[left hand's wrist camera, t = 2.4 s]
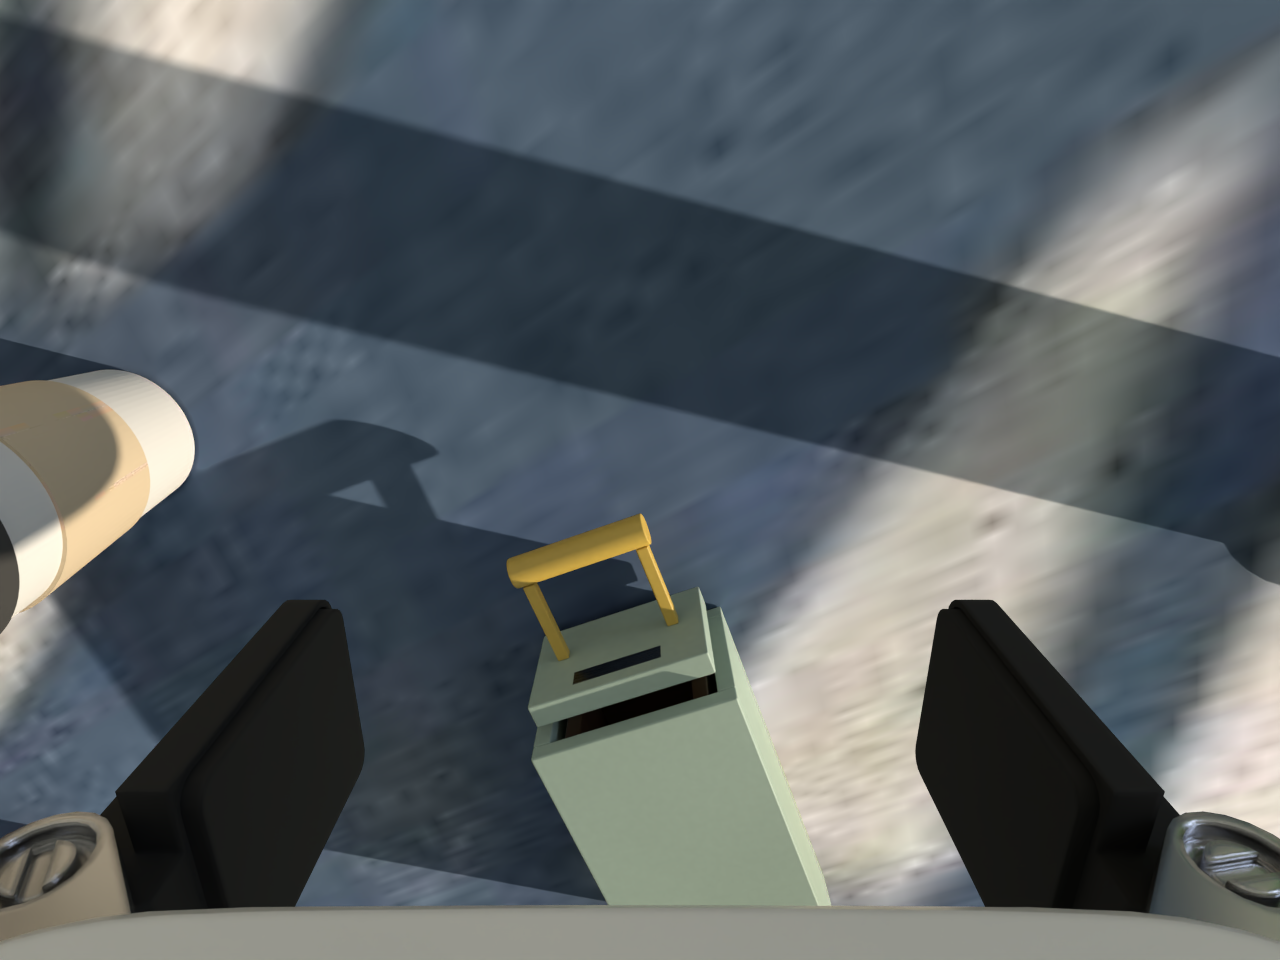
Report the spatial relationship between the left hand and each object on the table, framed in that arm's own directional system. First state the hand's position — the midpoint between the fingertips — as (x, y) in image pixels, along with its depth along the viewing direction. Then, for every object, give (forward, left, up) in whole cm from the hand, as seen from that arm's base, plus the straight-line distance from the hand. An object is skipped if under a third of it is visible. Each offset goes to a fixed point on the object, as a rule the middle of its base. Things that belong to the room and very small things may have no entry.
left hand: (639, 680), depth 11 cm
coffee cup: (+17, +19, -25) cm, 36 cm away
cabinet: (-18, +17, -25) cm, 36 cm away
